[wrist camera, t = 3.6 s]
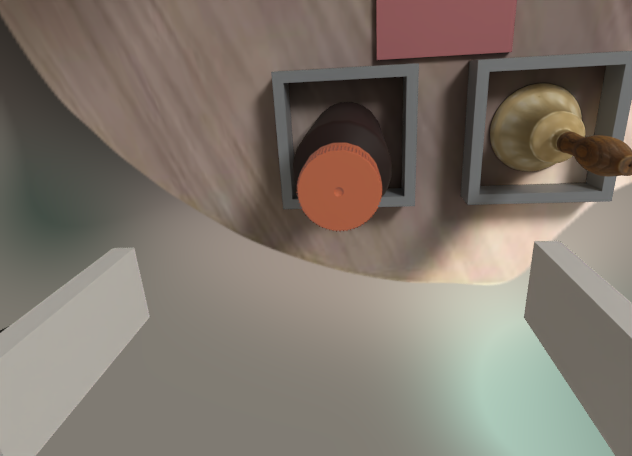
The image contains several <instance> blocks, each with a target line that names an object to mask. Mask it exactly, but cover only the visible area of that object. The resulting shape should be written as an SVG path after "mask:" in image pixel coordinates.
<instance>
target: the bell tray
mask: <svg viewBox="0 0 632 456" xmlns="http://www.w3.org/2000/svg"><path fill="white" fill-rule="evenodd" d="M602 65H606V69H605V75H604V81H603V87H602V92H601V98H600V104H599V110H598V116H597V121H596V127H595V133H594V135H603V136H610V137H613V138H616V139H619V140H621V141H624V136H625V130H626V125H627V120H628V115H629V110H630V105H631V100H632V51H620V52H603V53H586V54H569V55H552V56H535V57H518V58H500V59H483V60H470V64H469V78H468V93H467V108H466V123H465V138H464V153H463V168H462V183H461V197H462V198H463V200H464V201H465V202H466V203H467V205H479V204H519V203H560V202H601V201H612V196H613V191H614V186H615V181H616V176H609V177H607V176H600V175H596V174H594V173H592V172H589V171H588V173H587V179H586V183H563V184H529V185H494V186H480V179H481V167H482V155H483V143H484V131H485V119H486V107H487V95H488V83H489V72H493V71H511V70H529V69H547V68H565V67H583V66H602Z"/></svg>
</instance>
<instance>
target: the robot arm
mask: <svg viewBox="0 0 632 456" xmlns="http://www.w3.org/2000/svg"><path fill="white" fill-rule="evenodd" d="M149 317H150V316H149V312H148V307H147V303H146V298H145V294H144V289H143V285H142V280H141V276H140V271H139V267H138V263H137V258H136V254H135V249H134V248H113V249H111V250H110V251H109V252H107V253H106V254H105V255H104V256H102V257H101V258H99V259H98V260H97V261H95V262H94V263H93V264H92V265H90V266H89V267H87V268H86V269H85V270H83V271H82V272H81V273H79V274H78V275H77V276H75V277H74V278H73V279H72V280H70V281H69V282H68V283H66V284H65V285H63V286H62V287H61V288H59V289H58V290H57V291H55V292H54V293H53V294H51V295H50V296H49V297H48V298H46V299H45V300H44V301H42V302H41V303H40V304H38V305H37V306H36V307H34V308H33V309H32V310H30V311H29V312H28V313H26V314H25V315H24V316H22V317H21V318H20V319H18V320H17V321H16V322H14V323H13V324H12V325H10V326H8V327H6V328H4V329H2V330H0V456H36V454H37V453H38V452H39V451H40V449H41V448H42V447H43V446H44V445H45V444H46V442H47V441H48V440H49V439H50V437H51V436H52V435H53V434H54V433H55V431H56V430H57V429H58V428H59V426H60V425H61V424H62V423H63V422H64V420H65V419H66V418H67V417H68V416H69V414H70V413H71V412H72V410H73V409H74V408H75V407H76V406H77V405H78V403H79V402H80V401H81V400H82V399H83V397H84V396H85V395H86V394H87V392H88V391H89V390H90V389H91V388H92V386H93V385H94V384H95V383H96V382H97V380H98V379H99V378H100V377H101V375H102V374H103V373H104V372H105V371H106V369H107V368H108V367H109V366H110V365H111V363H112V362H113V361H114V360H115V358H116V357H117V356H118V355H119V354H120V352H121V351H122V350H123V349H124V347H125V346H126V345H127V344H128V343H129V341H130V340H131V339H132V338H133V337H134V335H135V334H136V333H137V332H138V330H139V329H140V328H141V327H142V325H143V324H144V323H145V322H146V321H147V319H148V318H149ZM524 318H525V320H526V321H527V323H528V324H529V326H530V327H531V329H532V330H533V332H534V333H535V335H536V336H537V338H538V339H539V341H540V342H541V344H542V345H543V347H544V348H545V350H546V351H547V353H548V355H549V356H550V357H551V359H552V361H553V362H554V363H555V365H556V366H557V368H558V370H559V371H560V373H561V374H562V376H563V377H564V379H565V380H566V382H567V383H568V385H569V386H570V388H571V389H572V391H573V392H574V394H575V395H576V397H577V398H578V400H579V401H580V403H581V404H582V406H583V407H584V409H585V411H586V412H587V414H588V415H589V417H590V418H591V420H592V421H593V423H594V424H595V426H596V427H597V429H598V430H599V432H600V433H601V435H602V436H603V438H604V439H605V441H606V442H607V444H608V445H609V447H610V448H611V450H612V451H613V453H614V454H615V456H632V303H631V302H630V301H629V300H628V299H626V298H625V297H624V296H623V295H622V294H621V293H620V292H618V291H617V290H616V289H615V288H614V287H612V285H610V284H609V283H608V282H607V281H606V280H605V279H603V278H602V277H601V276H600V275H599V274H598V273H596V272H595V271H594V270H593V269H592V268H591V267H590V266H588V265H587V264H586V263H585V262H584V261H583V260H581V259H580V258H579V257H578V256H577V255H576V254H575V253H573V252H572V251H571V250H570V249H569V248H568V247H567V246H565V245H564V244H563V243H562V242H561V241H534V248H533V255H532V262H531V270H530V278H529V285H528V293H527V299H526V307H525V314H524Z"/></svg>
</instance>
